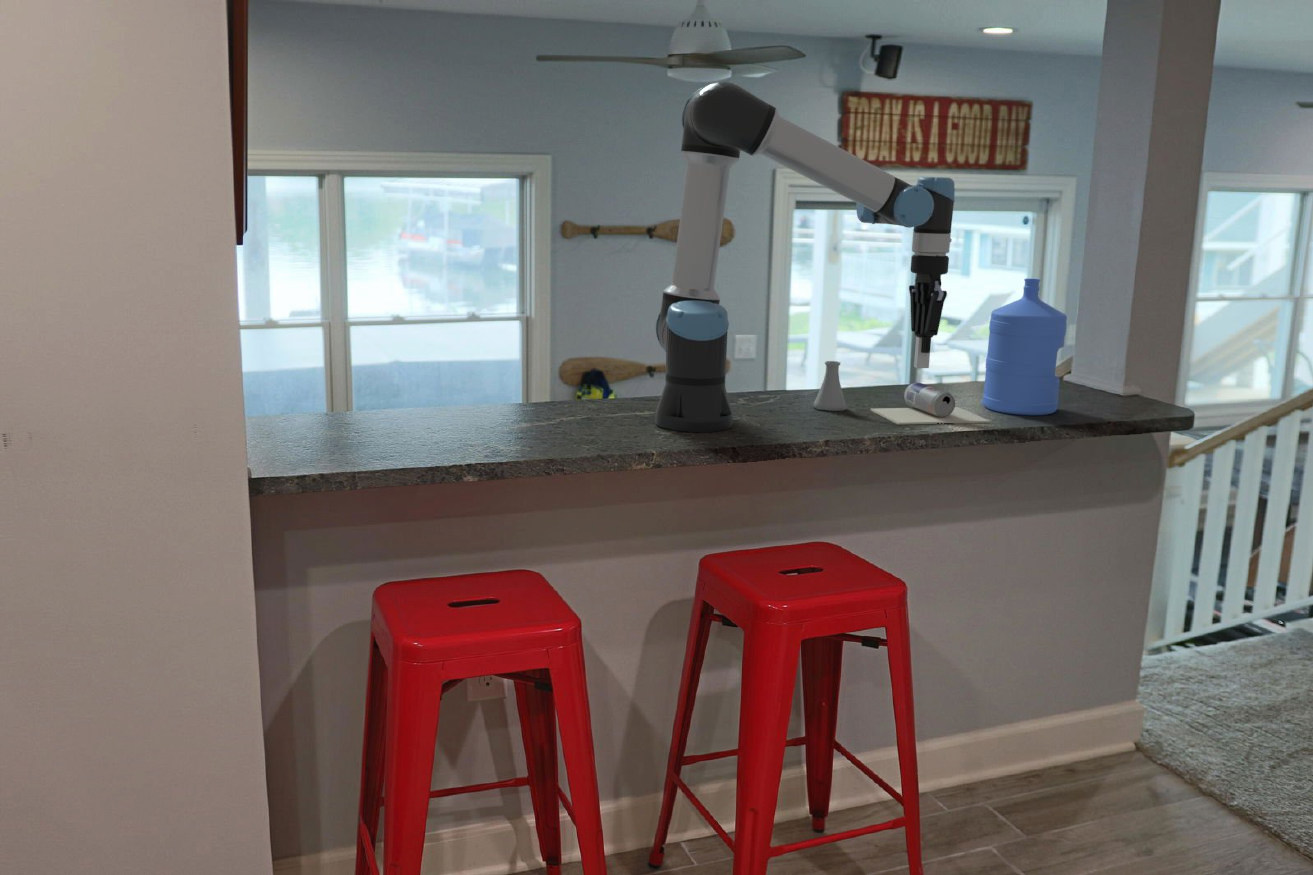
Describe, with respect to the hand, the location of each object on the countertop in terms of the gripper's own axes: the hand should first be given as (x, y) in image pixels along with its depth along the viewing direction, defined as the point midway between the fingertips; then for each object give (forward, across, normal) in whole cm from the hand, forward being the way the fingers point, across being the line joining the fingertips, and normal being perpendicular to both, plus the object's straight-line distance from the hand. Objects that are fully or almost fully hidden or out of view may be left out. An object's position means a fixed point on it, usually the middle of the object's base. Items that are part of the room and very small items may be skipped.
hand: (921, 367), depth 232 cm
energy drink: (+6, +3, 0) cm, 7 cm away
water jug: (+10, +1, -24) cm, 26 cm away
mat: (+9, -5, 0) cm, 11 cm away
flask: (+10, +5, +18) cm, 21 cm away
